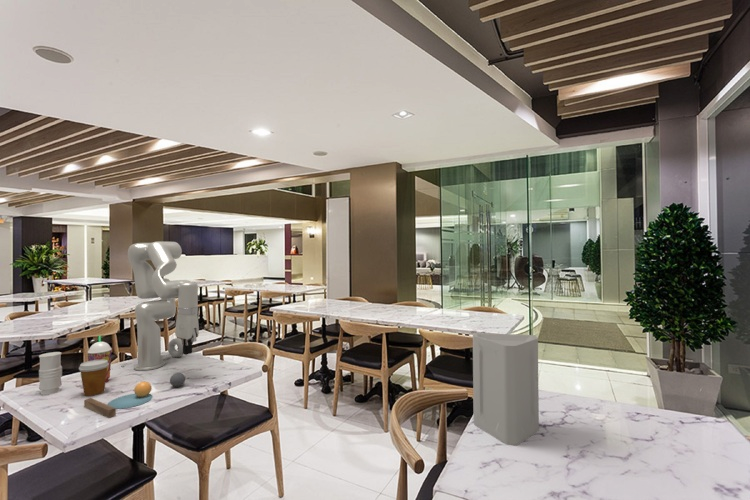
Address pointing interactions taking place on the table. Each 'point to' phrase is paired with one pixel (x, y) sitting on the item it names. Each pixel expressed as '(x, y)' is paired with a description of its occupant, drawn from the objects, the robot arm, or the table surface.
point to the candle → (50, 373)
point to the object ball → (142, 389)
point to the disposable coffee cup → (93, 376)
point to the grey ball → (177, 379)
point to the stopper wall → (100, 407)
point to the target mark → (129, 401)
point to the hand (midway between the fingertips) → (187, 353)
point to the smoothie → (101, 354)
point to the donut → (172, 349)
